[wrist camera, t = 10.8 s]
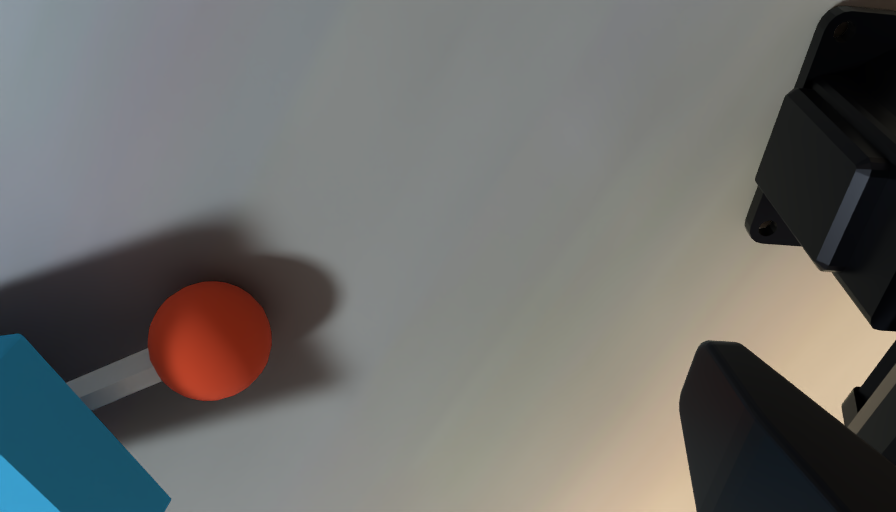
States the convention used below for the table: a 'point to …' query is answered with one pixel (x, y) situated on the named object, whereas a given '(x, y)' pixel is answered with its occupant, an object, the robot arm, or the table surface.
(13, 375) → the lever
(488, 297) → the table surface
